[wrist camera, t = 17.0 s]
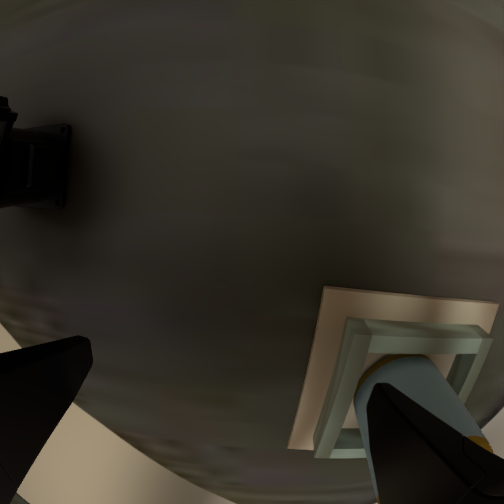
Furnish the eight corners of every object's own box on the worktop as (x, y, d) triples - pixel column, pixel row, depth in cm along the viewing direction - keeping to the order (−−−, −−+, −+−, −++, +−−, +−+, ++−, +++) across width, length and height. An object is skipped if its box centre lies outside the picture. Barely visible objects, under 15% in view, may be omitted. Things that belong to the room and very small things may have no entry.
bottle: (387, 334, 20) (483, 511, 5) (449, 363, 20) (542, 498, 5) (334, 405, 21) (360, 581, 7) (398, 425, 21) (447, 567, 7)
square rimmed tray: (287, 443, 23) (287, 469, 20) (323, 285, 20) (330, 302, 17) (434, 440, 22) (444, 460, 19) (495, 301, 19) (516, 315, 16)
